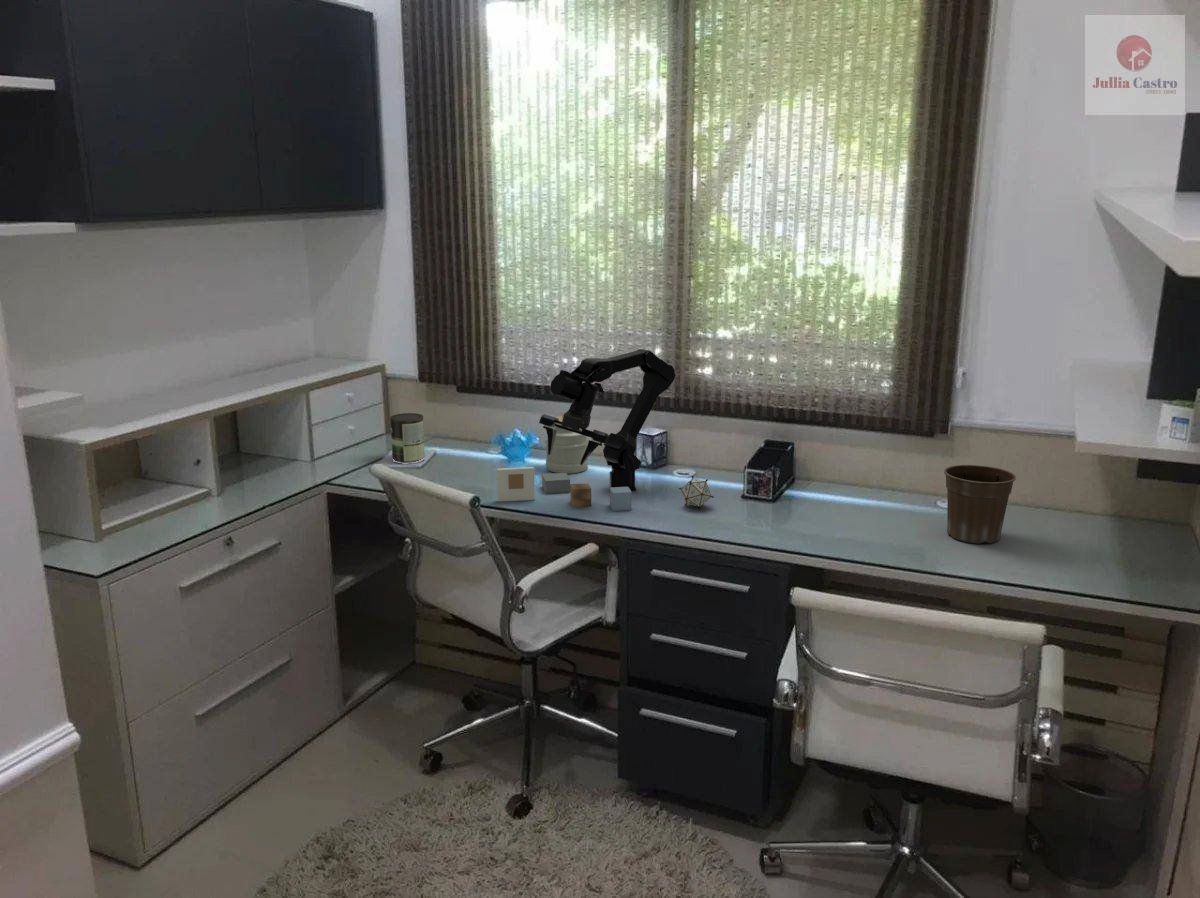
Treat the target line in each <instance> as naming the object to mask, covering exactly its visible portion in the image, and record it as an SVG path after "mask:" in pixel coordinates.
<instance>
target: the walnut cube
mask: <svg viewBox="0 0 1200 898" xmlns="http://www.w3.org/2000/svg"><path fill="white" fill-rule="evenodd" d="M569 493H570V496H569V497H570V501H569V502H570V504H571V506H572V508H579V507H592V487H591V485H590V484H589V483H588V482H587V483H586V482H585V483H583V482H582V483H570V492H569Z"/></svg>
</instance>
